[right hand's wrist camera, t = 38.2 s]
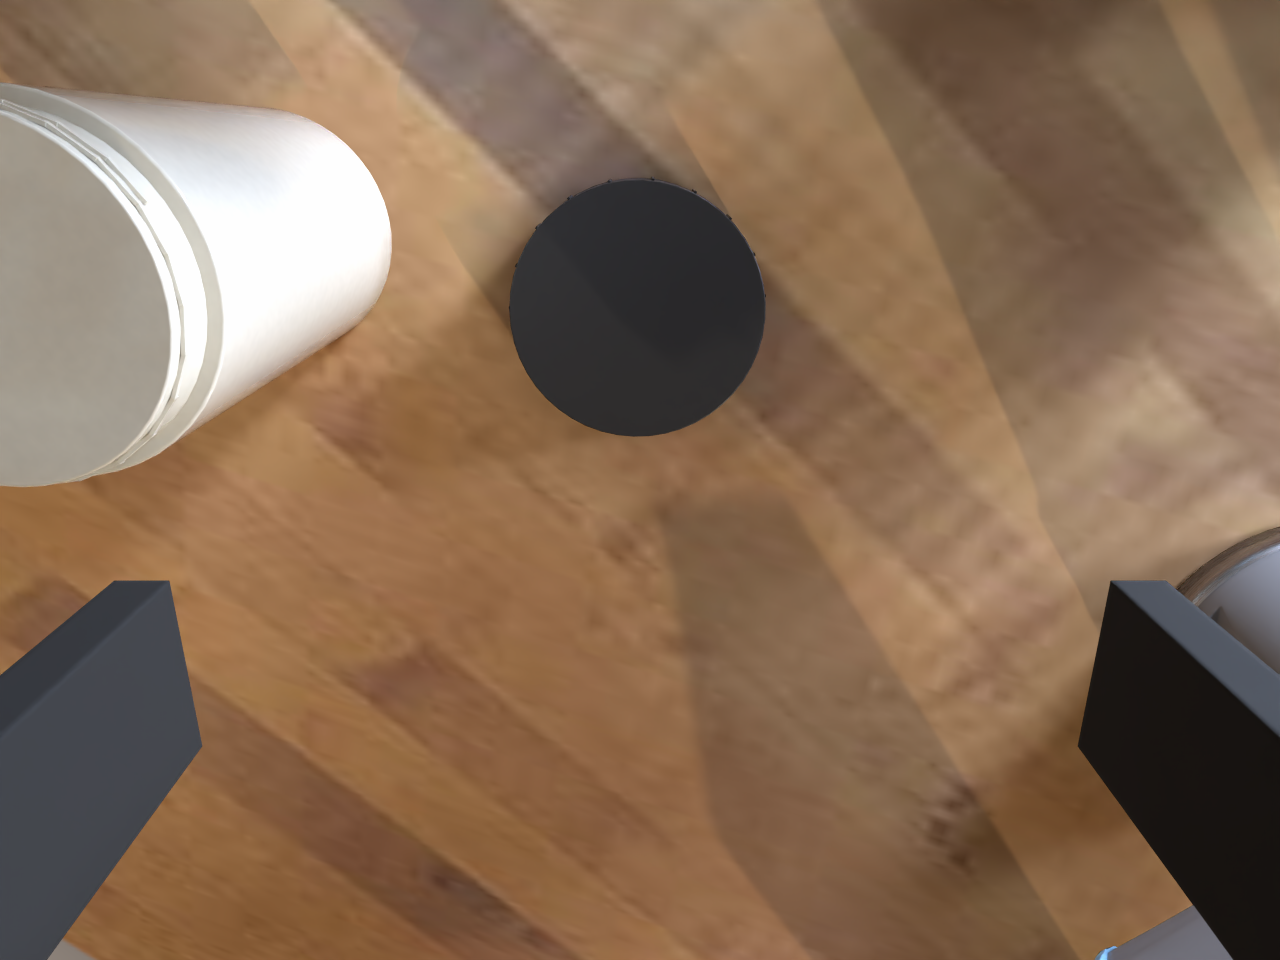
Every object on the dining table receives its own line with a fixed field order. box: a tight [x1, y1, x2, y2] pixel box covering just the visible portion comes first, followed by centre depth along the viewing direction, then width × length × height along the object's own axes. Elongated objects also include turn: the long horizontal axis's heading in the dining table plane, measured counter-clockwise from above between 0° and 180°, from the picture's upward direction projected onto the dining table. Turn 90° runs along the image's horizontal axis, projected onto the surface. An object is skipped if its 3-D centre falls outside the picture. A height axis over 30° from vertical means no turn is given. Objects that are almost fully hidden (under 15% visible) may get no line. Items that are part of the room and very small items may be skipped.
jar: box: [0, 82, 392, 487], centre depth 31 cm, size 10×10×19 cm
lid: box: [509, 177, 766, 436], centre depth 40 cm, size 11×11×2 cm
